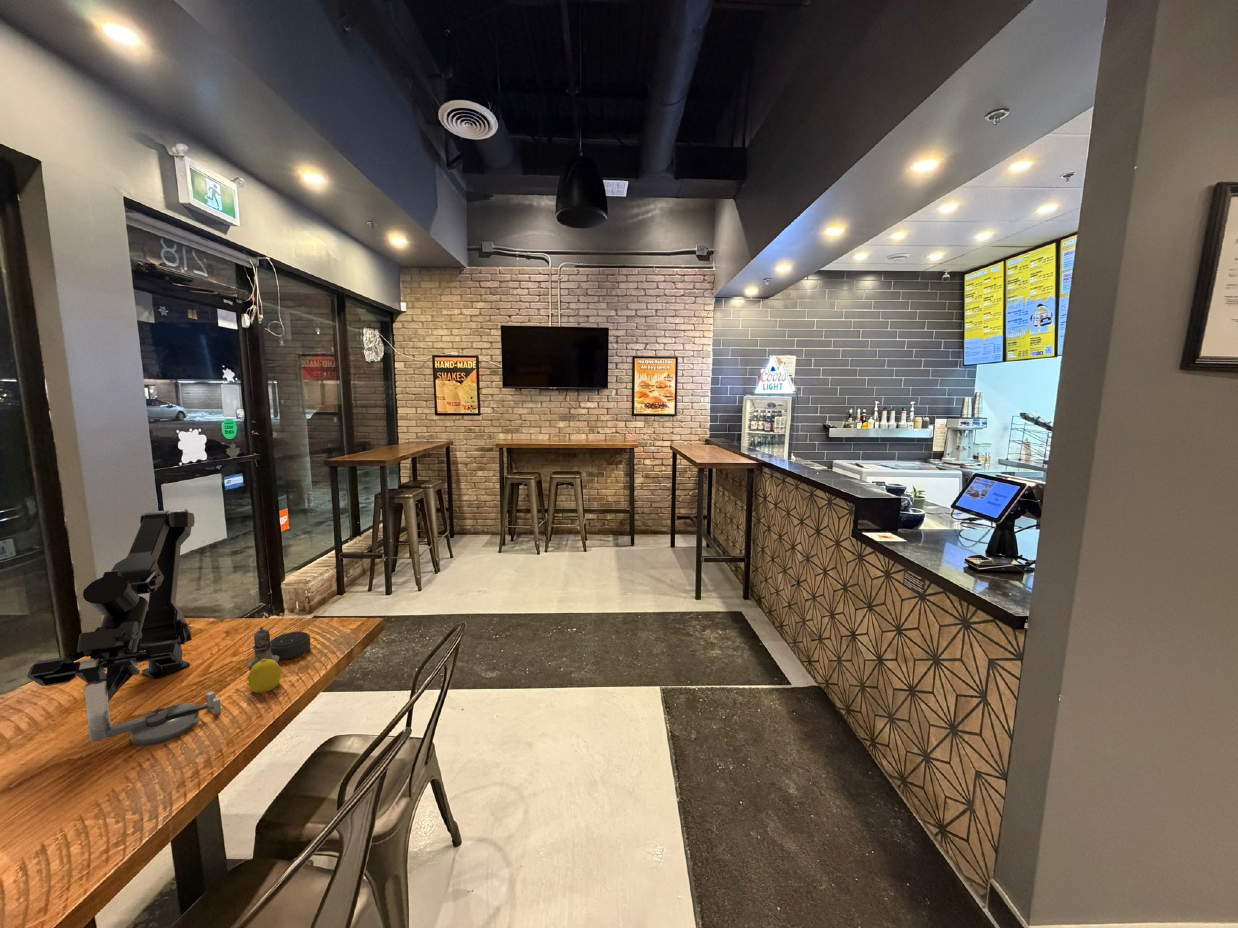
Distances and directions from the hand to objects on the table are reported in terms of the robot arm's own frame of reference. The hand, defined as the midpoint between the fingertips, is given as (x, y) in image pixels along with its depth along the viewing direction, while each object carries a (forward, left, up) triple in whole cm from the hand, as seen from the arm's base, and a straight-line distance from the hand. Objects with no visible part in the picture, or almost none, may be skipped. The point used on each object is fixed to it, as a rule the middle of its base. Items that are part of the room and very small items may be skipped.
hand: (97, 710), depth 80 cm
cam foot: (+5, +6, -6) cm, 10 cm away
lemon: (+7, +22, -8) cm, 25 cm away
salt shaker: (-1, +26, -8) cm, 28 cm away
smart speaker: (-7, +35, -8) cm, 37 cm away
